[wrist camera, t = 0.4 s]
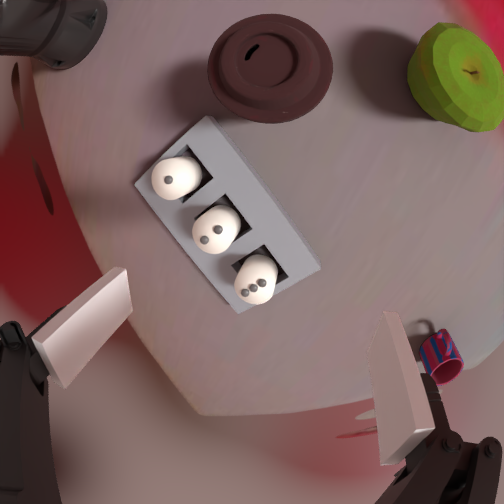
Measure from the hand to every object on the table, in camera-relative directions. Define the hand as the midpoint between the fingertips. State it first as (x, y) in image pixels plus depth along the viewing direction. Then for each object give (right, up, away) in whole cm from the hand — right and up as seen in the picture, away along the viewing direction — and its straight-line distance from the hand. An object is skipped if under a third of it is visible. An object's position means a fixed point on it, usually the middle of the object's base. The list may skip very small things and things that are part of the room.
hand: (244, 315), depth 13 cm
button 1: (-8, +13, +21) cm, 26 cm away
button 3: (+1, +1, +24) cm, 24 cm away
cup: (+33, -12, +26) cm, 43 cm away
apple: (+24, +25, +12) cm, 37 cm away
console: (-3, +8, +25) cm, 26 cm away
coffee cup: (+4, +23, +17) cm, 28 cm away
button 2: (-3, +7, +22) cm, 24 cm away
